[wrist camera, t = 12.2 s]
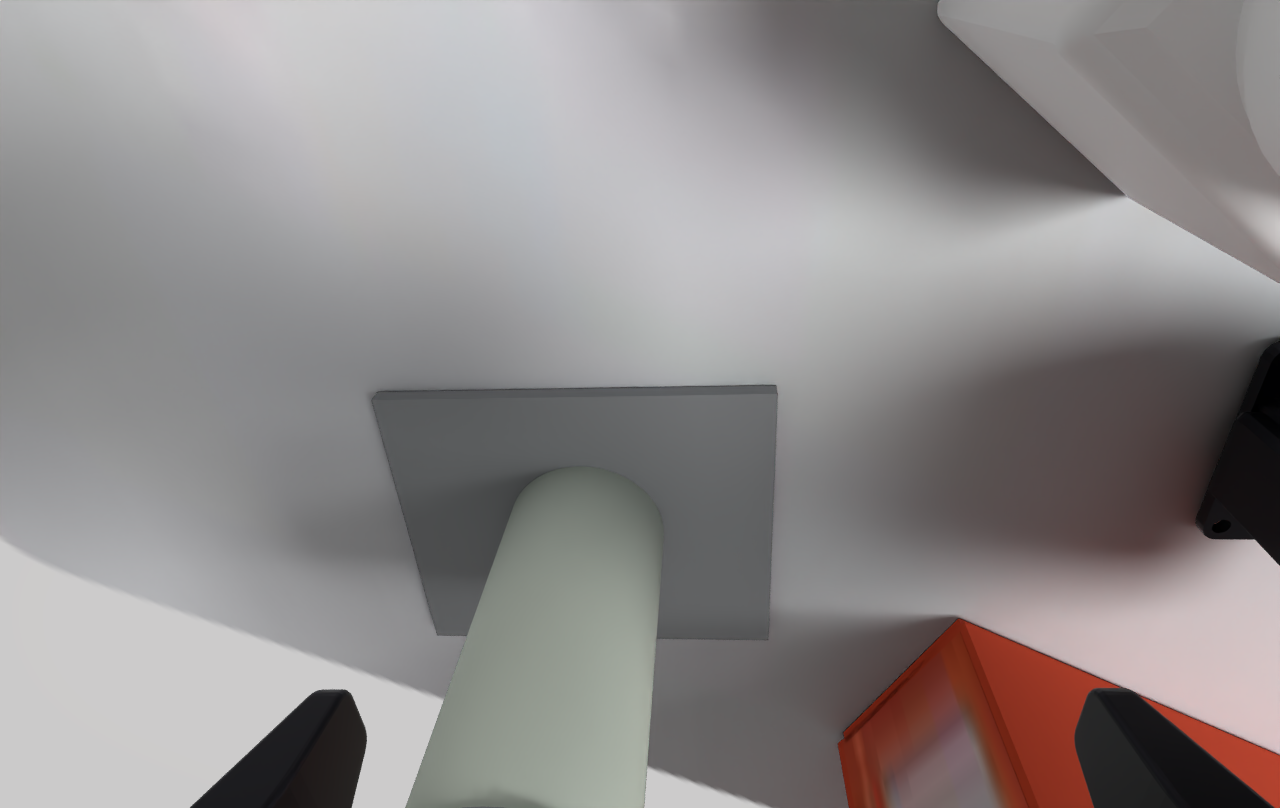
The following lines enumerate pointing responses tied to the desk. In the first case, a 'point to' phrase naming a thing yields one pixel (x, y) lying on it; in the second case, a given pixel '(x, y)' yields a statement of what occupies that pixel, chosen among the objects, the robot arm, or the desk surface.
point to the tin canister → (556, 656)
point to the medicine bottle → (1154, 101)
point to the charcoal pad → (607, 439)
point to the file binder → (997, 732)
